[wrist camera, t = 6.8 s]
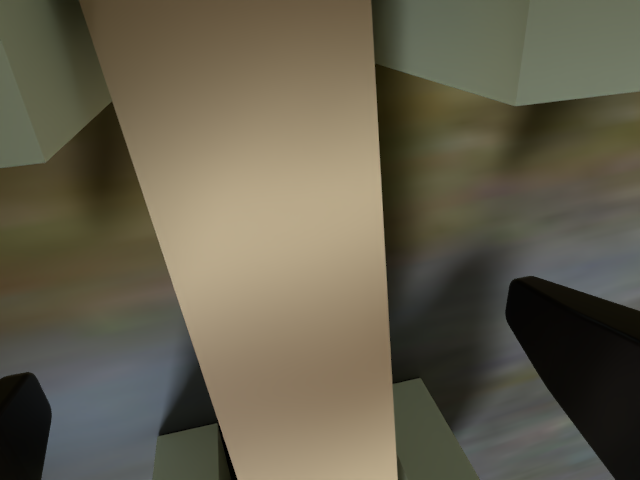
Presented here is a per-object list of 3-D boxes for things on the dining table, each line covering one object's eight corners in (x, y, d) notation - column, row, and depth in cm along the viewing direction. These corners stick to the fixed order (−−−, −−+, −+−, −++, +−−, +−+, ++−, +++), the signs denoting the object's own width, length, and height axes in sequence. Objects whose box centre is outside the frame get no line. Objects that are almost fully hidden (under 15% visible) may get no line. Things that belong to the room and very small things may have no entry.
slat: (356, 449, 15) (403, 585, 11) (266, 474, 14) (285, 625, 11) (287, -132, 7) (356, -259, 4) (102, -115, 7) (-2, -242, 4)
